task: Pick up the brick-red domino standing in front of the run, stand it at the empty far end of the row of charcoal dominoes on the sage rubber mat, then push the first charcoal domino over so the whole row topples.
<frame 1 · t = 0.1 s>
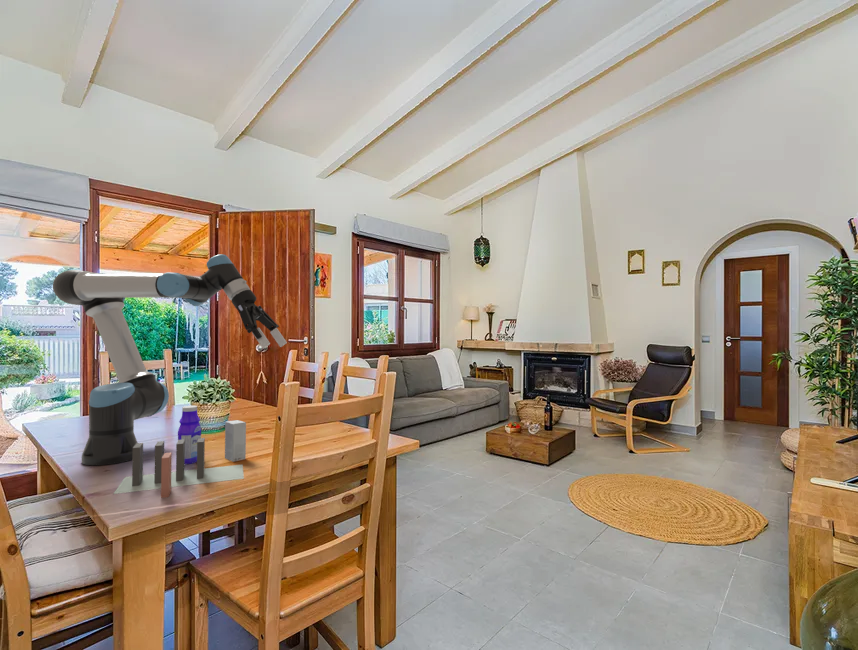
hand: (275, 345, 153), 36 cm above the table, tool tilted 35°, fingers open, 13 cm apart
end domino: (166, 495, 112), on the table
mat: (184, 479, 124), on the table
bottle: (189, 463, 140), on the table
skincare box: (235, 460, 143), on the table
domino 1: (137, 483, 120), resting on mat
domino 3: (180, 478, 124), resting on mat
domino 2: (159, 480, 122), resting on mat
domino 4: (200, 475, 126), resting on mat
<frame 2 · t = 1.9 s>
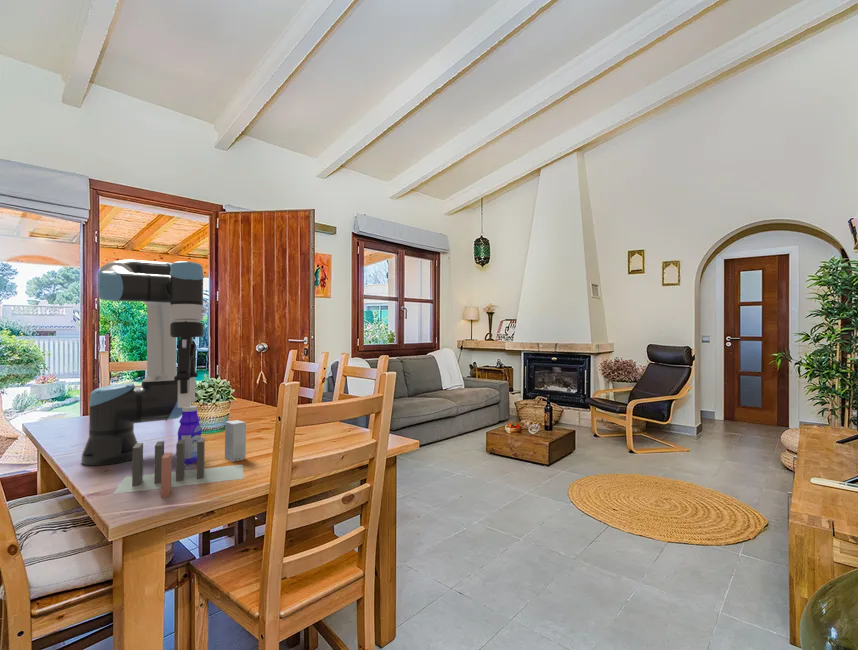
hand: (186, 404, 116), 22 cm above the table, tool pointing down, fingers open, 13 cm apart
nothing on the table moved.
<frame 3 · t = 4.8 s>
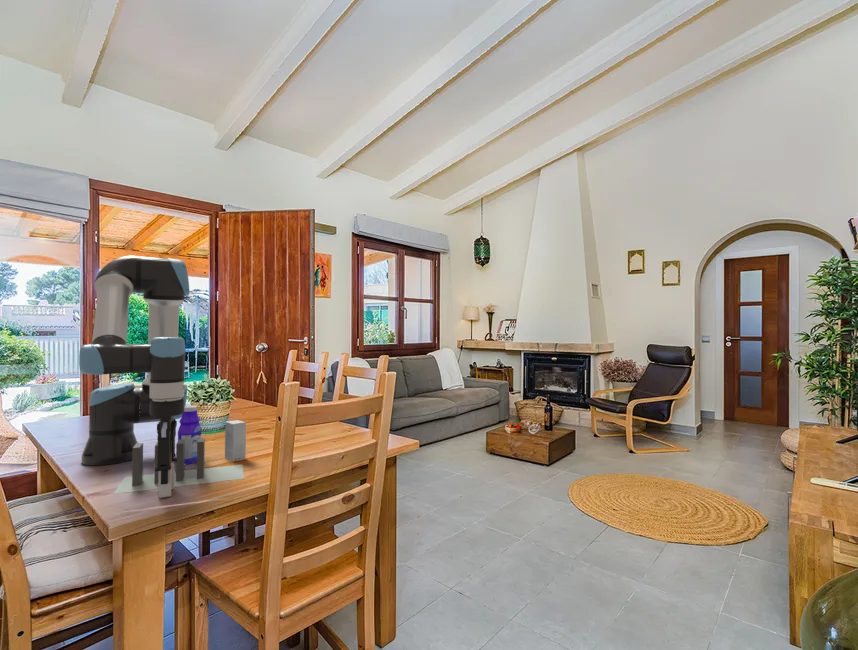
hand: (166, 492, 112), 1 cm above the table, tool pointing down, fingers closed on end domino, 5 cm apart
end domino: (166, 495, 112), on the table, touching gripper
everything else where it was.
when the fingers open (2 cm above the table, at t = 12.4 s): end domino stays where it is, resting on mat.
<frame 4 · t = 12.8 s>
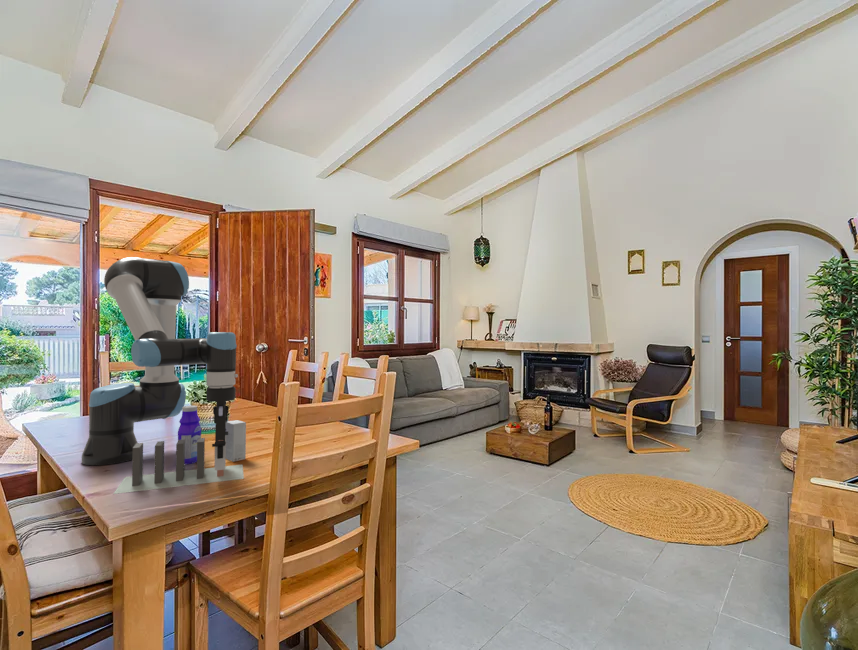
hand: (220, 463, 128), 3 cm above the table, tool pointing down, fingers open, 11 cm apart
end domino: (220, 473, 128), resting on mat
everything else where it was.
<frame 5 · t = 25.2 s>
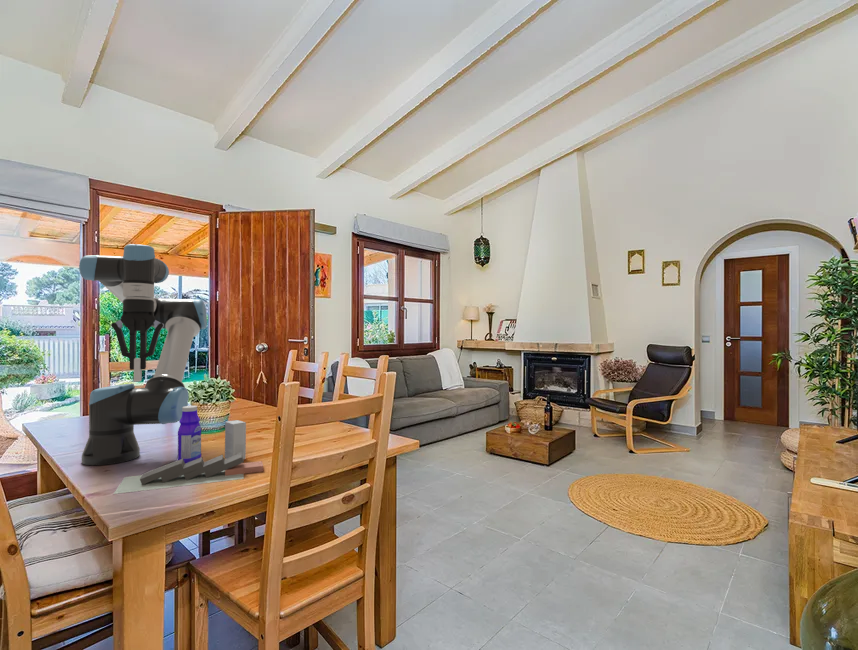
hand: (137, 381, 129), 26 cm above the table, tool pointing down, fingers closed
end domino: (225, 470, 128), point 1 cm above the table, tilted 90°, touching domino 4, mat
domino 1: (142, 479, 120), point 1 cm above the table, tilted 72°, touching domino 2
domino 3: (185, 474, 124), point 1 cm above the table, tilted 71°, touching domino 2, domino 4, mat
domino 2: (163, 477, 122), point 1 cm above the table, tilted 72°, touching domino 1, domino 3, mat
domino 4: (205, 472, 126), point 1 cm above the table, tilted 71°, touching domino 3, end domino
everything else where it was.
at the end: end domino tilted 90°; end domino inside the target area (2.2 cm from its centre), point 1.2 cm above the table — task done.
